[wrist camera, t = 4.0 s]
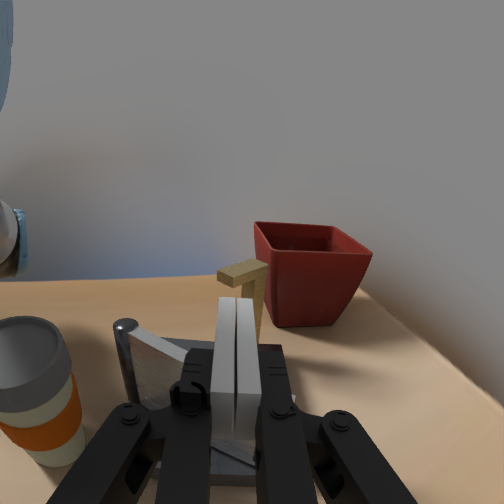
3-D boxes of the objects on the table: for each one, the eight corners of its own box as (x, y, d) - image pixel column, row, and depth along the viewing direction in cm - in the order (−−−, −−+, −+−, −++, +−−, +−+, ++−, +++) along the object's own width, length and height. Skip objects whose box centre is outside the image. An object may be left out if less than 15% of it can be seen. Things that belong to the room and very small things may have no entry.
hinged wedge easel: (123, 397, 33) (107, 325, 29) (138, 386, 35) (126, 315, 31) (268, 476, 24) (285, 412, 21) (279, 458, 27) (298, 391, 23)
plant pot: (323, 290, 75) (334, 224, 70) (355, 333, 57) (375, 253, 52) (247, 290, 72) (253, 220, 66) (261, 338, 54) (271, 250, 49)
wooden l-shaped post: (214, 366, 46) (217, 269, 40) (245, 348, 51) (253, 258, 46) (227, 375, 44) (233, 277, 39) (258, 356, 49) (269, 264, 44)
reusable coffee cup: (60, 392, 34) (31, 303, 29) (119, 440, 29) (89, 347, 24) (-1, 433, 23) (-51, 343, 18) (51, 497, 18) (-15, 412, 13)
